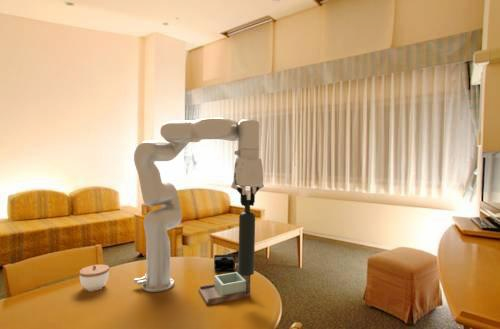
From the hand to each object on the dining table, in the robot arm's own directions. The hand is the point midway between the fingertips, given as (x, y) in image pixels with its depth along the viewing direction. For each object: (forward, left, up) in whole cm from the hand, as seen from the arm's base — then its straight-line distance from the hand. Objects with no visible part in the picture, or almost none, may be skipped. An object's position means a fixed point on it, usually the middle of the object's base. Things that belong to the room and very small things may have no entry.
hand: (247, 204), depth 105 cm
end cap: (+3, +35, -36) cm, 50 cm away
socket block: (-3, +11, -35) cm, 36 cm away
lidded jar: (-52, +37, -36) cm, 73 cm away
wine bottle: (0, 0, -25) cm, 25 cm away
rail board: (-5, +11, -36) cm, 38 cm away
